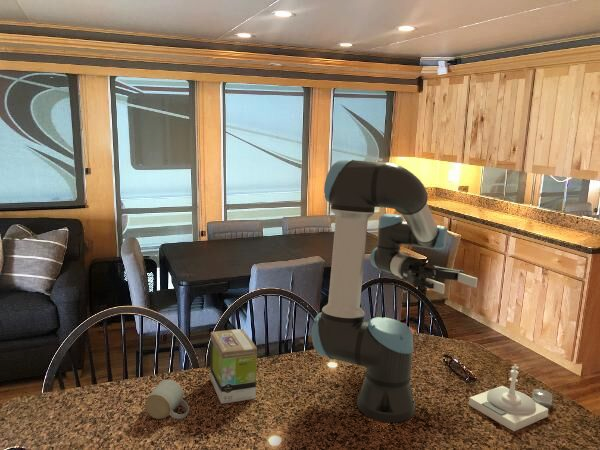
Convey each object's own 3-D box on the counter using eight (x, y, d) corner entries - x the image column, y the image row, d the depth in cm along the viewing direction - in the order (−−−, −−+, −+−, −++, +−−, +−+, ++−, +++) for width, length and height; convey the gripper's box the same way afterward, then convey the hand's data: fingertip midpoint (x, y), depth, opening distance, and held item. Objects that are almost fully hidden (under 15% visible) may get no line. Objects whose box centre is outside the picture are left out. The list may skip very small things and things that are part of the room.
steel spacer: (544, 410, 135) (545, 399, 135) (527, 401, 139) (528, 391, 139) (554, 405, 138) (556, 395, 137) (538, 397, 142) (539, 387, 141)
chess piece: (524, 404, 131) (528, 369, 130) (505, 404, 131) (509, 368, 130) (516, 395, 136) (520, 360, 134) (498, 394, 136) (502, 360, 134)
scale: (513, 431, 124) (515, 420, 124) (468, 404, 136) (469, 394, 136) (547, 416, 132) (548, 406, 131) (501, 392, 143) (502, 382, 143)
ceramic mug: (143, 419, 124) (143, 391, 123) (158, 402, 132) (158, 376, 130) (181, 425, 122) (181, 398, 121) (194, 408, 130) (194, 382, 128)
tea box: (257, 399, 135) (258, 347, 133) (220, 405, 132) (220, 352, 129) (242, 373, 149) (243, 327, 146) (209, 378, 145) (209, 330, 143)
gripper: (434, 274, 167) (487, 292, 149) (377, 283, 154) (427, 305, 136) (436, 252, 166) (490, 268, 148) (378, 260, 153) (430, 278, 135)
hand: (460, 285), depth 142 cm, fingers open, 13 cm apart
